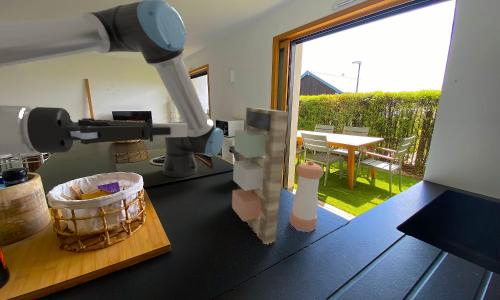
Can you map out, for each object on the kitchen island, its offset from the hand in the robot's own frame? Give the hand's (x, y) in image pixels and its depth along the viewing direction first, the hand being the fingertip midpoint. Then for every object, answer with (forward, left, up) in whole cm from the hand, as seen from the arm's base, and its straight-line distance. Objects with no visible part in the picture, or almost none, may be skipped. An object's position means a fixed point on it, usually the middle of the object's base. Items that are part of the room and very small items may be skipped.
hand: (186, 130), depth 44 cm
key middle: (+2, +14, -13) cm, 20 cm away
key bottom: (+2, +14, -21) cm, 26 cm away
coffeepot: (-29, +30, -27) cm, 49 cm away
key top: (+2, +14, -5) cm, 16 cm away
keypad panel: (+2, +18, -27) cm, 32 cm away
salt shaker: (+6, +31, -27) cm, 42 cm away
